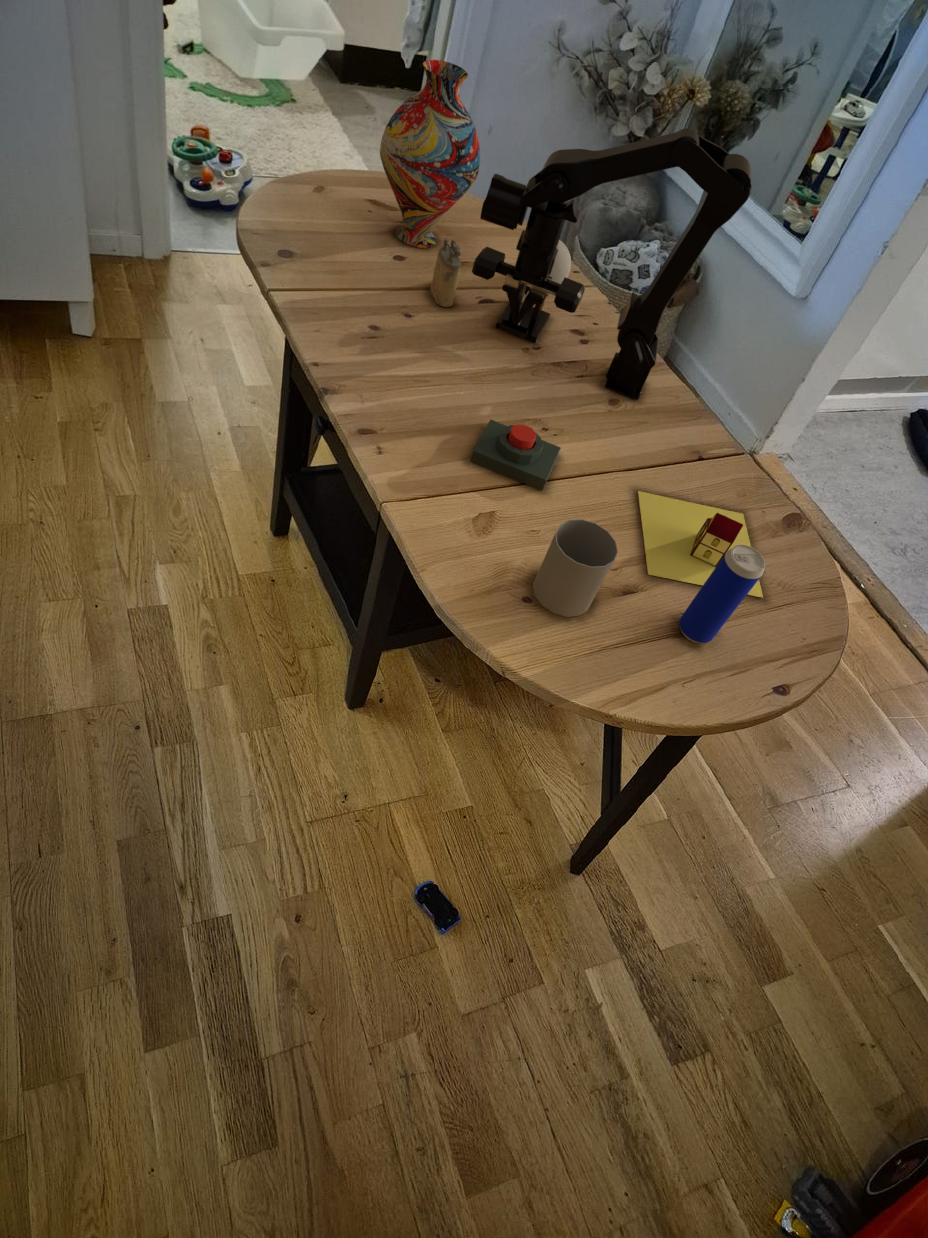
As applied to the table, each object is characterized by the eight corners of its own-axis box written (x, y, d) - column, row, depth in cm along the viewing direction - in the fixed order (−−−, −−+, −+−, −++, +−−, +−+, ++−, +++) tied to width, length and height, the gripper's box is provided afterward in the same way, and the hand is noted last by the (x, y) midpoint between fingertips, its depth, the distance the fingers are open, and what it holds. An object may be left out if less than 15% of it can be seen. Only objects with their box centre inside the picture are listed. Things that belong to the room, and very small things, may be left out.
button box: (556, 457, 127) (564, 438, 124) (542, 491, 121) (550, 471, 118) (487, 429, 128) (493, 409, 125) (469, 461, 122) (475, 441, 119)
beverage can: (707, 618, 112) (761, 545, 101) (716, 647, 109) (772, 576, 98) (674, 613, 111) (724, 540, 100) (681, 643, 108) (734, 571, 97)
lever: (524, 340, 142) (526, 332, 140) (498, 330, 143) (500, 321, 140) (548, 290, 146) (550, 281, 144) (522, 280, 146) (524, 270, 144)
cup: (543, 618, 105) (567, 568, 98) (524, 571, 110) (546, 520, 102) (600, 613, 108) (627, 565, 100) (579, 568, 113) (604, 518, 105)
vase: (360, 209, 164) (380, 39, 141) (446, 216, 170) (479, 55, 147) (382, 259, 153) (407, 84, 130) (473, 264, 160) (512, 99, 137)
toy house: (691, 563, 119) (716, 525, 112) (685, 532, 123) (709, 493, 117) (727, 571, 119) (754, 533, 113) (720, 539, 124) (746, 501, 117)
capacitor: (455, 308, 148) (467, 256, 141) (435, 307, 147) (446, 255, 139) (445, 286, 152) (456, 235, 145) (426, 285, 151) (436, 234, 143)
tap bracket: (535, 343, 147) (550, 297, 140) (495, 327, 147) (508, 280, 140) (548, 319, 153) (563, 273, 146) (510, 303, 154) (523, 257, 146)
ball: (518, 297, 156) (532, 248, 148) (510, 270, 162) (523, 222, 154) (566, 304, 158) (583, 256, 151) (556, 277, 164) (572, 230, 157)
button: (535, 439, 123) (539, 430, 122) (529, 453, 120) (532, 444, 119) (512, 429, 123) (515, 420, 122) (504, 444, 121) (507, 434, 119)
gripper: (604, 240, 134) (574, 323, 146) (502, 200, 135) (480, 285, 146) (590, 266, 127) (560, 352, 138) (482, 224, 127) (461, 312, 139)
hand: (515, 324), depth 141 cm, fingers closed, pressing on lever
